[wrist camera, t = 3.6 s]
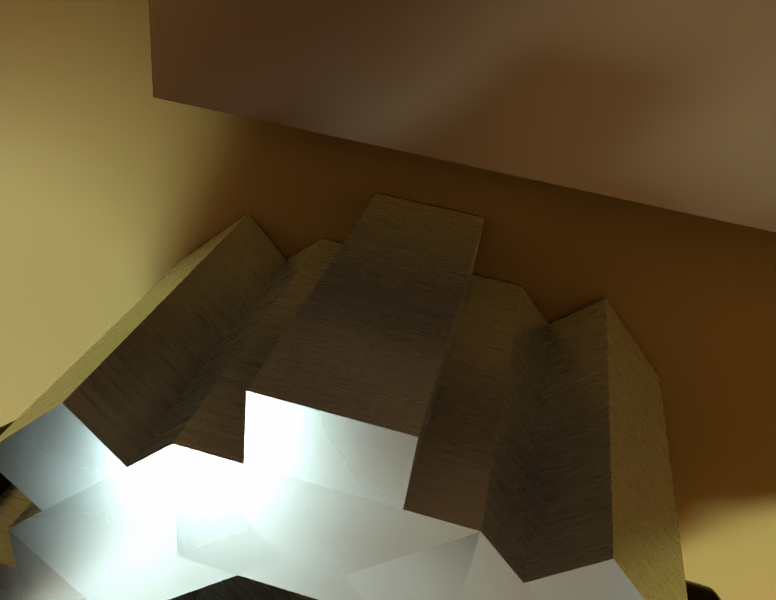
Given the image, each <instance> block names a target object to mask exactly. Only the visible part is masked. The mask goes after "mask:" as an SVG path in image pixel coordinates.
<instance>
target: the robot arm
mask: <svg viewBox="0 0 776 600" xmlns="http://www.w3.org/2000/svg"><path fill="white" fill-rule="evenodd" d="M15 421H16V420H15ZM15 421H13V422H11V423H9V424H6V425H4V426H2V427H0V435H1V434H2V433H3V432H4V431H5V430H6V429H7V428H8V427H9V426H10V425H12V424H13V423H14V422H15ZM11 485H12V483H11V482H10V481H9V480H8V479H7V478H6V477H5V476H4V475H3V474H1V473H0V495H1V494H2V493H4V492H5V491H6V490H7V489H8V488H9V487H10V486H11ZM685 582H686V590H687V598H688V600H721V599H720V597H719V596H718V595H717V593H716V592H715V591H714V590H713V589H711V588H710V587H707V586H704V585H701V584H697V583H694V582H690V581H687V580H685Z"/></svg>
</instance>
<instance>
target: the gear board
mask: <svg viewBox="0 0 776 600" xmlns="http://www.w3.org/2000/svg"><path fill="white" fill-rule="evenodd" d="M149 14H150V36H151V58H152V80H153V97H155V98H160V99H164V100H169V101H174V102H178V103H183V104H187V105H192V106H197V107H201V108H206V109H210V110H215V111H220V112H224V113H229V114H233V115H238V116H243V117H247V118H252V119H256V120H261V121H266V122H270V123H275V124H279V125H284V126H289V127H293V128H298V129H302V130H307V131H312V132H316V133H321V134H325V135H330V136H335V137H339V138H344V139H348V140H353V141H357V142H362V143H367V144H371V145H376V146H380V147H385V148H390V149H394V150H399V151H403V152H408V153H413V154H417V155H422V156H426V157H431V158H436V159H440V160H445V161H449V162H454V163H459V164H463V165H468V166H472V167H477V168H482V169H486V170H491V171H495V172H500V173H505V174H509V175H514V176H518V177H523V178H528V179H532V180H537V181H541V182H546V183H551V184H555V185H560V186H564V187H569V188H574V189H578V190H583V191H587V192H592V193H597V194H601V195H606V196H610V197H615V198H619V199H624V200H629V201H633V202H638V203H642V204H647V205H652V206H656V207H661V208H665V209H670V210H675V211H679V212H684V213H688V214H693V215H698V216H702V217H707V218H711V219H716V220H721V221H725V222H730V223H734V224H739V225H744V226H748V227H753V228H757V229H762V230H767V231H771V232H776V0H149Z"/></svg>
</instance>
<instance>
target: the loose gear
mask: <svg viewBox="0 0 776 600" xmlns="http://www.w3.org/2000/svg"><path fill="white" fill-rule="evenodd" d="M484 221H485V218H483V217H478V216H474V215H470V214H465V213H461V212H456V211H452V210H447V209H443V208H439V207H434V206H430V205H425V204H421V203H417V202H412V201H408V200H403V199H399V198H394V197H390V196H386V195H381V194H377V193H376V194H375V196H374V197H373V199H372V200H371V202H370V203H369V205H368V206H367V208H366V209H365V211H364V212H363V214H362V215H361V217H360V218H359V220H358V221H357V223H356V224H355V226H354V227H353V229H352V231H351V232H350V234H349V235H348V237H347V238H346V240H345V241H344V243H343V244H342V243H338V242H334V241H329V240H325V239H320V240H318V241H317V242H315V243H314V244H312V245H310V246H309V247H307V248H306V249H304V250H302V251H301V252H299V253H298V254H296V255H294V256H293V257H291V258H290V259H288V260H286V259H285V258H284V257H283V256H282V254H281V253H280V252H279V251H278V249H277V248H276V247H275V246H274V244H273V243H272V242H271V241H270V240H269V238H268V237H267V236H266V235H265V233H264V232H263V231H262V230H261V229H260V227H259V226H258V225H257V224H256V222H255V221H254V220H253V219H252V218H251V216H250V215H249V214H247V215H245V216H244V217H243V218H241V219H240V220H238V221H237V222H235V223H234V224H233V225H231V226H230V227H228V228H227V229H225V230H224V231H223V232H221V233H220V234H218V235H217V236H215V237H214V238H213V239H211V240H210V241H208V242H207V243H205V244H204V245H203V246H201V247H200V248H198V249H197V250H195V251H194V252H193V253H191V254H190V255H188V256H187V257H185V258H184V259H183V260H181V261H180V262H179V263H178V264H177V265H176V266H175V267H174V268H173V269H172V270H171V271H170V272H169V273H168V274H167V275H166V276H165V277H164V278H163V279H162V280H161V281H159V282H158V283H157V284H156V285H155V286H154V287H153V288H152V289H151V290H150V291H149V292H148V293H147V294H146V295H145V296H144V297H143V298H142V299H141V300H140V301H139V302H138V303H137V304H136V305H135V306H134V307H133V308H132V309H131V310H129V311H128V312H127V313H126V314H125V315H124V316H123V317H122V318H121V319H120V320H119V321H118V322H117V323H116V324H115V325H114V326H113V327H112V328H111V329H110V330H109V331H108V332H107V333H106V334H105V335H104V336H103V337H102V338H101V339H99V340H98V341H97V342H96V343H95V344H94V345H93V346H92V347H91V348H90V349H89V350H88V351H87V352H86V353H85V354H84V355H83V356H82V357H81V358H80V359H79V360H78V361H77V362H76V363H75V364H74V365H73V366H72V367H70V368H69V369H68V370H67V371H66V372H65V373H64V374H63V375H62V376H61V377H60V378H59V379H58V380H57V381H56V382H55V383H54V384H53V385H52V386H51V387H50V388H49V389H48V390H47V391H46V392H45V393H44V394H43V395H42V396H40V397H39V398H38V399H37V400H36V401H35V402H34V403H33V404H32V405H31V406H30V407H29V408H28V409H27V410H26V411H25V412H24V413H23V414H22V415H21V416H20V417H19V418H18V419H17V420H16V421H15V422H14V423H13V424H12V425H10V426H9V427H8V428H7V429H6V430H5V431H4V432H3V433H2V434H1V435H0V473H1V474H3V475H4V476H5V477H6V478H7V479H8V480H9V481H10V482H11V483H12V485H11V486H10V487H9V488H8V489H7V490H6V491H5V492H4V493H2V494H1V495H0V600H688V598H687V590H686V582H685V574H684V566H683V558H682V551H681V543H680V535H679V527H678V519H677V511H676V504H675V496H674V488H673V480H672V472H671V464H670V457H669V449H668V441H667V433H666V425H665V417H664V409H663V402H662V394H661V386H660V379H659V377H658V376H657V374H656V373H655V371H654V370H653V368H652V367H651V365H650V364H649V362H648V360H647V359H646V357H645V356H644V354H643V353H642V351H641V350H640V348H639V347H638V345H637V344H636V342H635V341H634V339H633V338H632V336H631V335H630V333H629V332H628V330H627V329H626V327H625V326H624V324H623V323H622V321H621V320H620V318H619V317H618V315H617V314H616V312H615V311H614V309H613V308H612V306H611V305H610V303H609V302H608V300H607V299H606V298H605V299H603V300H600V301H598V302H596V303H594V304H592V305H590V306H587V307H585V308H583V309H581V310H579V311H577V312H574V313H572V314H570V315H568V316H566V317H563V318H561V319H559V320H557V321H555V322H553V323H550V324H548V322H547V321H546V320H545V318H544V317H543V315H542V314H541V312H540V311H539V310H538V308H537V307H536V305H535V304H534V302H533V301H532V300H531V298H530V297H529V295H528V294H527V293H526V291H525V290H524V288H523V287H522V286H519V285H515V284H511V283H506V282H502V281H498V280H494V279H490V278H485V277H481V276H477V275H473V274H472V273H473V269H474V265H475V260H476V256H477V252H478V247H479V243H480V238H481V234H482V230H483V225H484Z"/></svg>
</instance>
